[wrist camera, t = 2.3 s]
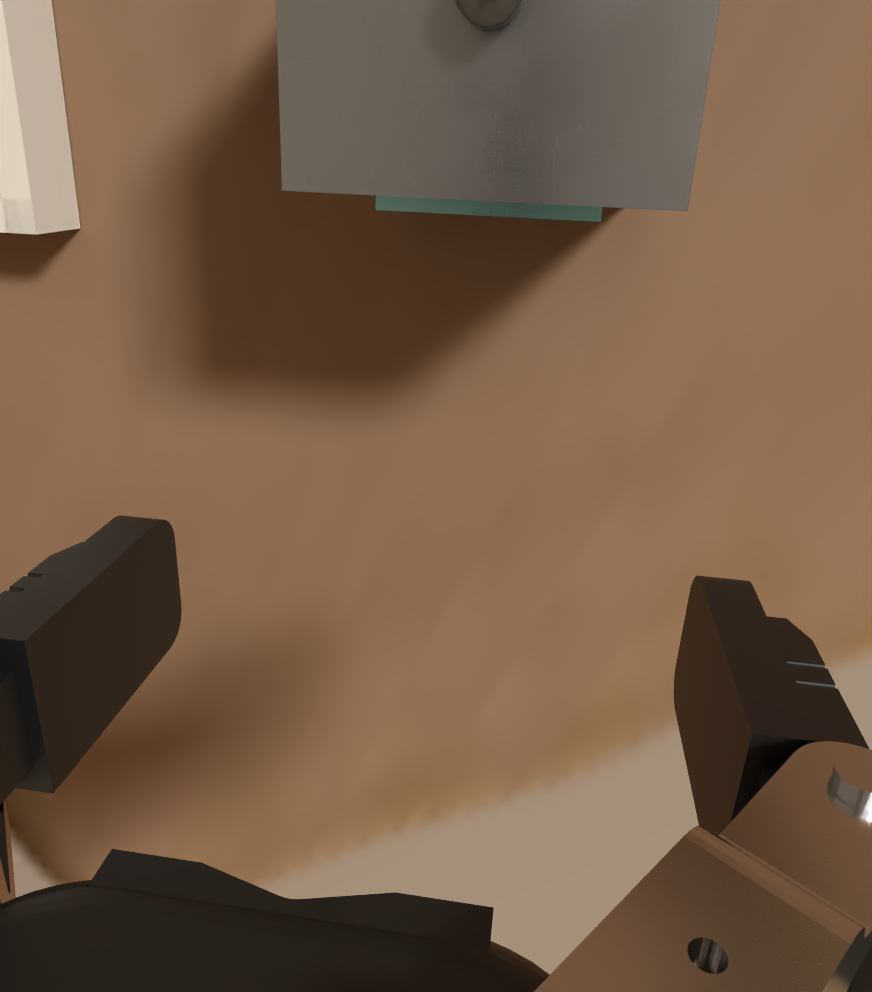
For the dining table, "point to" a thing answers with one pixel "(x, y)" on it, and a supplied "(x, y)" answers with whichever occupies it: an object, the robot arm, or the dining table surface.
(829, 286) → the dining table surface
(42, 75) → the tray
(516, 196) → the box
